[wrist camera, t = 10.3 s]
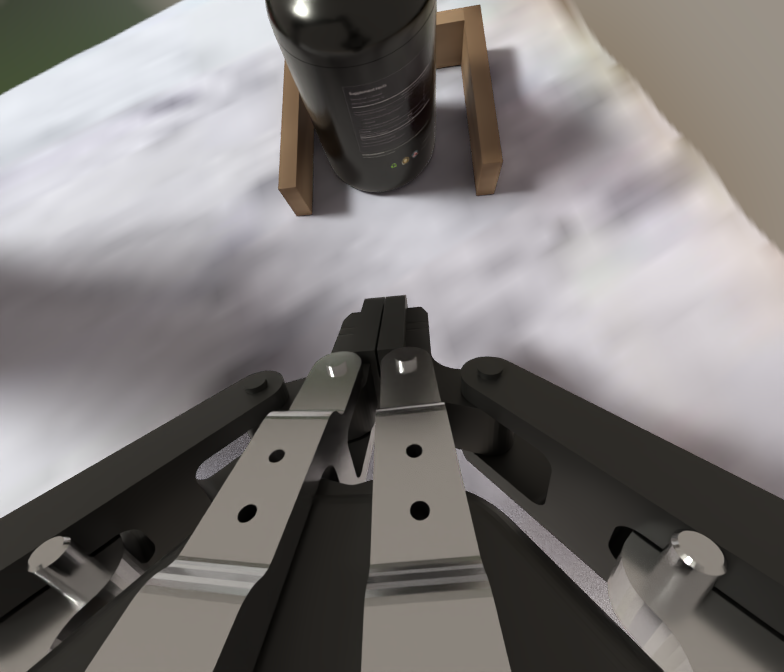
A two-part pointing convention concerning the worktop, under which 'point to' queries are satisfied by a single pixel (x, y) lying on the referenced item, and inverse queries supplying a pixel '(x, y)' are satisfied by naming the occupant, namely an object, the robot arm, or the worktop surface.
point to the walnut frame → (453, 47)
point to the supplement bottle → (365, 82)
